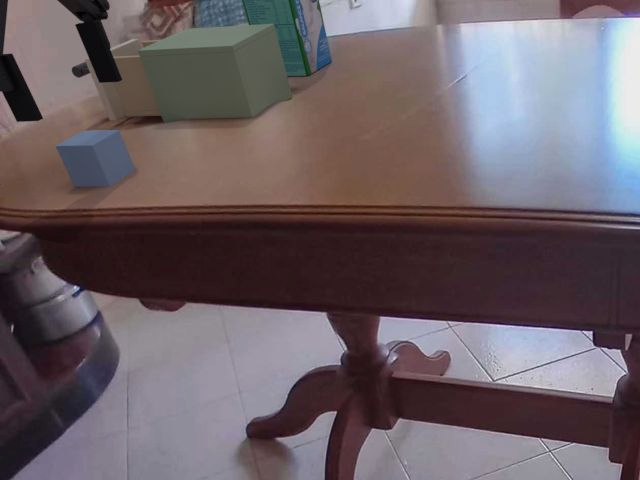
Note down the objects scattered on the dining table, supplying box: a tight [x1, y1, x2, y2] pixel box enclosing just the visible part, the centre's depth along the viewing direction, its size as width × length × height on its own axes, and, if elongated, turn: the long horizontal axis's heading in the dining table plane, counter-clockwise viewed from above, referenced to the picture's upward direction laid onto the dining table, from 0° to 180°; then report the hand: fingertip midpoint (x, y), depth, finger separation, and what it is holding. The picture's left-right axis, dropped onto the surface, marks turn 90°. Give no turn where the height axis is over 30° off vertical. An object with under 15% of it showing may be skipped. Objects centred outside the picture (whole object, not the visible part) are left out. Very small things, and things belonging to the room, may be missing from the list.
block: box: [55, 129, 136, 187], centre depth 83 cm, size 5×5×6 cm
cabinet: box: [138, 24, 293, 124], centre depth 103 cm, size 15×13×11 cm
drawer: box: [71, 38, 162, 121], centre depth 105 cm, size 18×11×9 cm, turn 78°
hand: (73, 99), depth 79 cm, fingers open, 13 cm apart
